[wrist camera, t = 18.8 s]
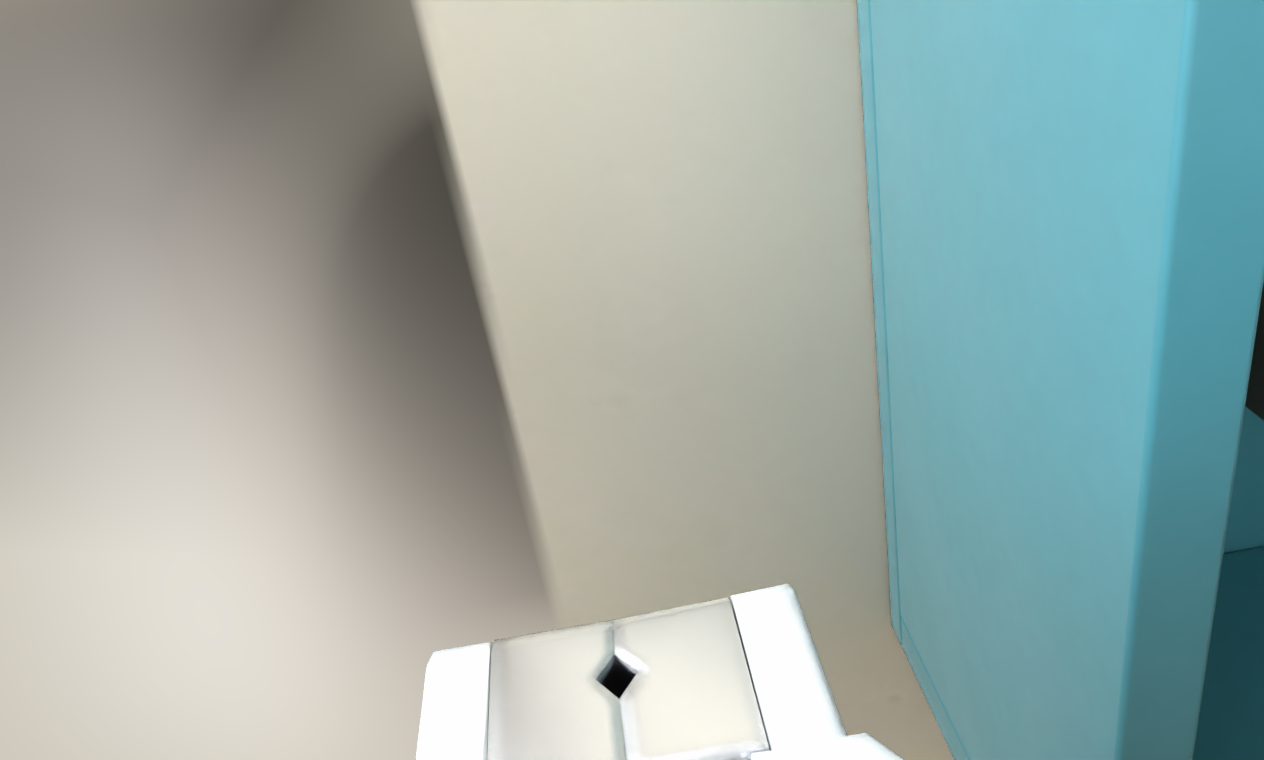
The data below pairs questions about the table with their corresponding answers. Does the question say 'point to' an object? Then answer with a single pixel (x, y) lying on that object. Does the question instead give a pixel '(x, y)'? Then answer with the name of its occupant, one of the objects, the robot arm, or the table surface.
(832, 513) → the table surface
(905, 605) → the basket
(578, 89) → the table surface
